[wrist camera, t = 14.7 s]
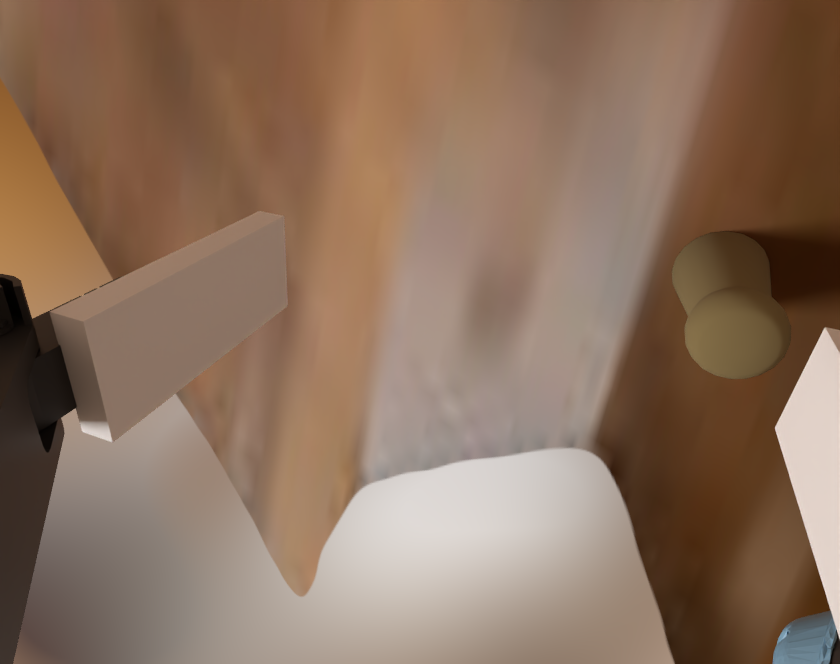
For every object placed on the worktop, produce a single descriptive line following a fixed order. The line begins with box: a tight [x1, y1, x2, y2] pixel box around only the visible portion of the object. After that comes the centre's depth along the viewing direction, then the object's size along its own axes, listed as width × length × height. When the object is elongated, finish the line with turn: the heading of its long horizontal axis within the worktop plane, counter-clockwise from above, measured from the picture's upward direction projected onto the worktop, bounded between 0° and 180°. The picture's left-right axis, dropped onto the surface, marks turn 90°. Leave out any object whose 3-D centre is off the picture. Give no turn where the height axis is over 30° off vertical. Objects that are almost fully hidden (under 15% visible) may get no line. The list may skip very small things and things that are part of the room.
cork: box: [672, 231, 791, 379], centre depth 35 cm, size 6×6×11 cm
